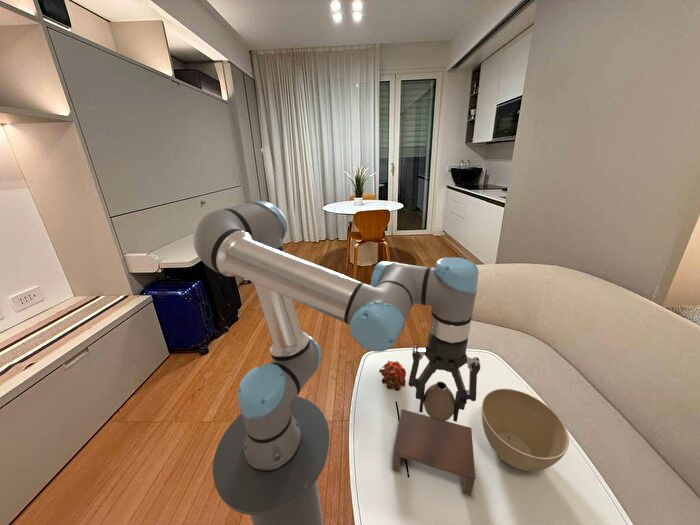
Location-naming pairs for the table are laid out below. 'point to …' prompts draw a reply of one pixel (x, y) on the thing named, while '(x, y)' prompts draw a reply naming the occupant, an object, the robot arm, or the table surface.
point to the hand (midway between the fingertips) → (437, 411)
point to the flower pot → (523, 430)
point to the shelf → (436, 446)
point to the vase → (439, 402)
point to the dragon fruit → (393, 375)
